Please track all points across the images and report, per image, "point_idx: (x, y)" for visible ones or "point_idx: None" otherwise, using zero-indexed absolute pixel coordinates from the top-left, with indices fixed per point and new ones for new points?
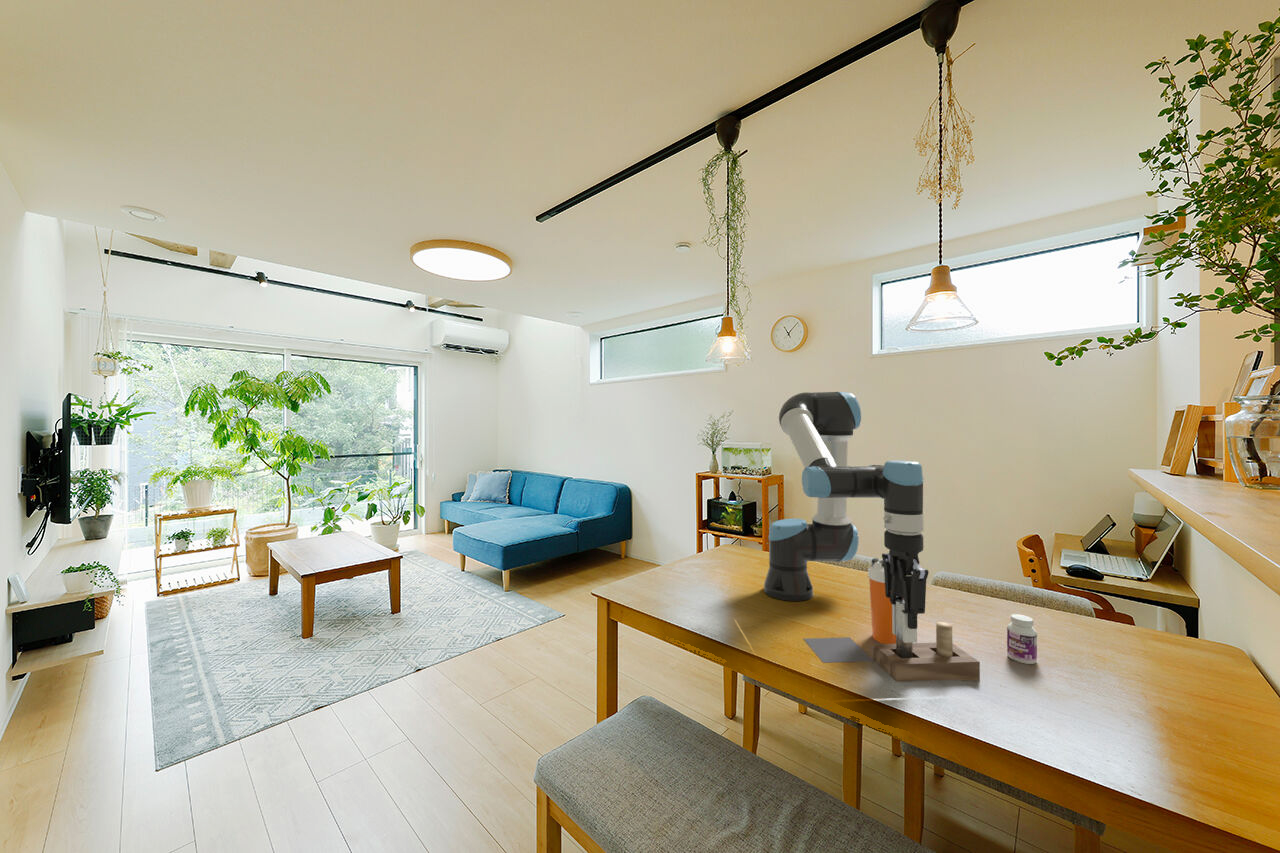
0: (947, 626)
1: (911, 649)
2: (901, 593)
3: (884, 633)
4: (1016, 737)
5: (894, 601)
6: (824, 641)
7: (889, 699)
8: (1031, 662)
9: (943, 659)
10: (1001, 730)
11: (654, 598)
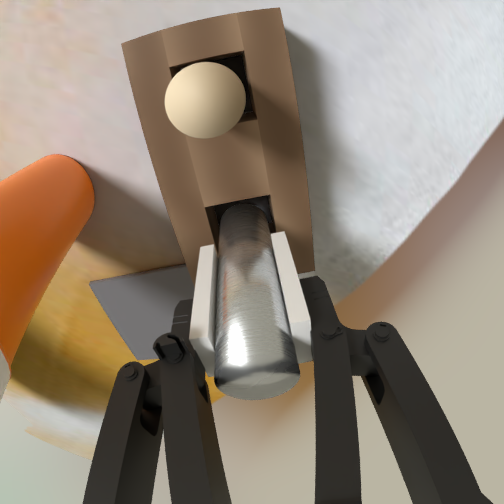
0: (222, 90)
1: (265, 227)
2: (201, 406)
3: (80, 228)
4: (474, 108)
5: (205, 383)
6: (134, 333)
7: (361, 273)
8: None
9: (276, 121)
10: (460, 119)
11: (94, 446)
